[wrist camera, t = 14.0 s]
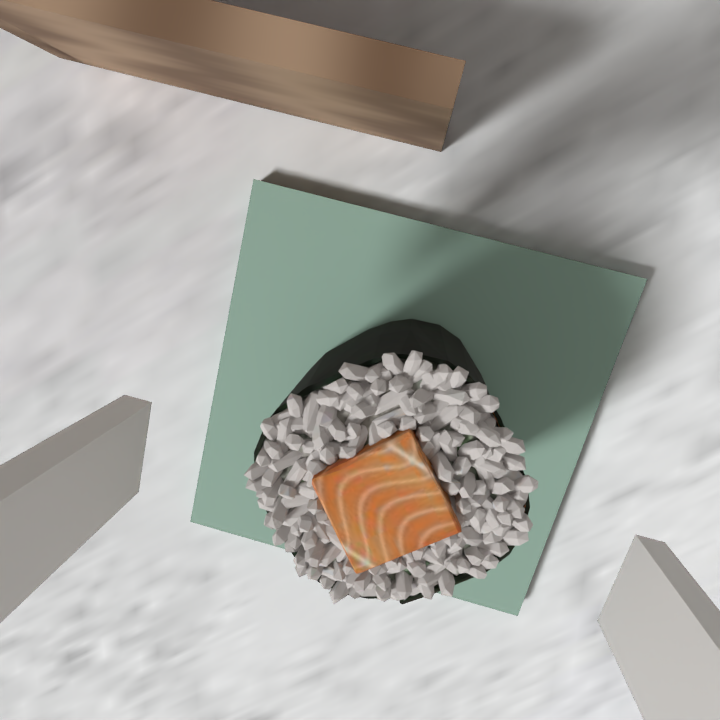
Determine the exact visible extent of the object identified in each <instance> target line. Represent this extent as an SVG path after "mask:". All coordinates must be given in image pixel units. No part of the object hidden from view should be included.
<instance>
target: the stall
mask: <svg viewBox="0 0 720 720" xmlns="http://www.w3.org/2000/svg"><path fill="white" fill-rule="evenodd" d="M0 28H2V29H4V30H6V31H8V32H10V33H12V34H14V35H16V36H18V37H20V38H22V39H24V40H26V41H28V42H30V43H32V44H34V45H35V46H37V47H39V48H41V49H43V50H45V51H47V52H49V53H51V54H53V55H55V56H57V57H59V58H63V59H67V60H71V61H75V62H79V63H83V64H87V65H91V66H95V67H100V68H104V69H108V70H112V71H116V72H120V73H124V74H128V75H132V76H136V77H140V78H144V79H148V80H152V81H156V82H160V83H164V84H168V85H172V86H176V87H181V88H185V89H189V90H193V91H197V92H201V93H205V94H209V95H213V96H217V97H221V98H225V99H229V100H233V101H237V102H241V103H245V104H249V105H253V106H257V107H261V108H266V109H270V110H274V111H278V112H282V113H286V114H290V115H294V116H298V117H302V118H306V119H310V120H314V121H318V122H322V123H326V124H330V125H334V126H338V127H342V128H347V129H351V130H355V131H359V132H363V133H367V134H371V135H375V136H379V137H383V138H387V139H391V140H395V141H399V142H403V143H407V144H411V145H415V146H419V147H423V148H428V149H432V150H436V151H440V152H441V151H442V147H443V143H444V140H445V136H446V132H447V129H448V125H449V121H450V118H451V114H452V110H453V107H454V103H455V99H456V95H457V92H458V88H459V84H460V80H461V77H462V73H463V69H464V66H465V62H466V61H464V60H460V59H456V58H452V57H447V56H443V55H439V54H435V53H431V52H426V51H422V50H418V49H414V48H410V47H405V46H401V45H397V44H393V43H389V42H384V41H380V40H376V39H372V38H368V37H363V36H359V35H355V34H351V33H347V32H342V31H338V30H334V29H330V28H326V27H321V26H317V25H313V24H309V23H305V22H300V21H296V20H292V19H288V18H284V17H279V16H275V15H271V14H267V13H263V12H258V11H254V10H250V9H246V8H242V7H237V6H233V5H229V4H225V3H221V2H216V1H212V0H0Z"/></svg>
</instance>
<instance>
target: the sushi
mask: <svg viewBox="0 0 720 720" xmlns="http://www.w3.org/2000/svg"><path fill="white" fill-rule="evenodd" d="M499 404H500V403H499V400H498V397H495V396H492V395H490V394H489V392H488V389H487V385H486V384H485V382H484V380H483V377H482V375H481V373H480V371H479V370H478V368H477V366H476V365H475V363H474V362H473V360H472V358H471V357H470V355H469V353H468V352H467V350H466V348H465V347H464V345H463V343H462V342H461V340H460V339H459V338H458V337H456V336H455V335H453V334H452V333H451V332H449V331H448V330H446V329H445V328H444V327H442V326H441V325H439V324H434V323H430V322H425V321H420V320H416V319H405V320H397V321H391V322H388V323H385V324H382V325H380V326H377V327H374V328H371V329H369V330H367V331H365V332H363V333H361V334H359V335H357V336H356V337H354V338H352V339H350V340H348V341H346V342H345V343H343V344H341V345H339V346H337V347H335V348H334V349H332V350H330V351H328V352H326V353H325V354H324V355H323V356H322V357H321V358H320V359H319V360H318V361H317V362H316V363H315V364H314V365H313V366H312V367H311V369H310V370H309V371H308V372H307V373H306V374H305V376H304V377H303V378H302V379H301V380H300V382H299V383H298V384H297V385H296V386H295V388H294V389H293V390H292V391H291V392H290V394H289V395H288V396H287V397H286V398H285V400H284V401H283V402H282V403H281V404H280V406H279V407H278V408H277V409H276V410H275V412H274V413H273V414H272V415H271V417H269V418H266V419H264V420H263V422H262V423H261V425H260V427H261V429H262V434H261V436H260V439H259V441H258V443H257V446H256V448H255V451H254V463H253V464H252V465H251V466H250V467H249V469H248V470H247V471H246V472H245V474H244V476H246V477H247V478H249V479H248V481H247V484H246V487H245V488H246V489H249V490H253V491H256V492H257V493H256V497H258V498H259V499H258V500H257V502H258V505H259V508H261V509H264V510H266V512H267V514H266V516H265V520H264V526H266V527H268V528H270V529H273V528H274V529H275V530H276V532H275V533H274V535H273V536H272V539H273V544H274V545H275V546H278V545H281V544H283V543H285V544H284V545H285V550H286V552H292V554H293V555H294V557H295V558H294V560H293V561H294V563H295V564H296V567H295V569H296V571H297V573H298V576H299V577H301V576H303V575H305V574H307V576H308V579H312V580H317V581H318V582H319V583H321V585H322V587H323V588H324V589H330V588H331V591H330V592H329V594H330V596H331V599H332V601H333V604H335V603H336V602H338V601H340V600H341V599H343V598H344V597H346V596H347V595H350V596H351V597H352V598H354V599H355V598H359V597H362V598H368V599H371V598H377V599H379V600H381V601H384V602H385V601H387V600H388V599H390V598H391V599H394V600H397V601H399V600H400V603H401V604H405V603H408V602H410V601H413V600H416V599H419V598H422V597H424V598H427V599H432V597H433V595H434V593H437V592H439V591H441V595H445V596H451V597H452V596H453V591H454V586H455V585H456V584H459V583H461V582H464V581H466V580H469V579H471V578H474V577H475V578H477V579H485V578H486V576H487V573H486V572H487V571H489V570H490V569H494V568H496V567H497V564H498V563H499V562H500V561H502V560H503V559H504V558H506V557H507V556H508V555H510V553H511V552H512V550H513V548H514V547H515V546H520V545H522V544H524V543H525V542H527V541H529V538H528V532H529V531H530V530H531V528H532V527H533V523H532V522H531V520H530V518H529V517H528V513H529V509H530V502H529V493H530V492H533V491H534V490H536V489H537V488H538V481H537V480H536V479H534V478H532V477H531V476H529V475H525V474H524V471H523V470H526V464H525V457H523V456H520V455H519V454H522V453H524V452H525V451H526V450H525V446H524V442H523V440H521V439H517V438H513V437H512V435H513V432H512V431H511V430H509V429H508V428H506V427H505V426H504V424H503V422H502V419H501V417H500V415H499V414H498V412H497V411H496V410H497V409H498V408H499Z"/></svg>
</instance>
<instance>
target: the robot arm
mask: <svg viewBox="0 0 720 720" xmlns="http://www.w3.org/2000/svg"><path fill="white" fill-rule="evenodd" d="M151 404H152V402H149V401H145V400H142V399H138V398H134V397H131V396H127V395H123V396H122V397H120V398H118V399H116V400H115V401H113V402H111V403H109V404H108V405H106V406H104V407H102V408H100V409H99V410H97V411H95V412H93V413H92V414H90V415H88V416H86V417H85V418H83V419H81V420H79V421H78V422H76V423H74V424H72V425H71V426H69V427H67V428H65V429H63V430H62V431H60V432H58V433H56V434H55V435H53V436H51V437H49V438H48V439H46V440H44V441H42V442H41V443H39V444H37V445H35V446H34V447H32V448H30V449H28V450H26V451H25V452H23V453H21V454H19V455H18V456H16V457H14V458H12V459H11V460H9V461H7V462H5V463H4V464H2V465H0V623H1V622H2V621H3V620H4V619H5V618H6V617H7V616H8V615H9V614H10V613H11V612H12V611H13V610H15V609H16V608H17V607H18V606H19V605H20V604H21V603H22V602H23V601H24V600H25V599H26V598H27V597H28V596H29V595H30V594H31V593H32V592H33V591H35V590H36V589H37V588H38V587H39V586H40V585H41V584H42V583H43V582H44V581H45V580H46V579H47V578H48V577H49V576H50V575H51V574H52V573H54V572H55V571H56V570H57V569H58V568H59V567H60V566H61V565H62V564H63V563H64V562H65V561H66V560H67V559H68V558H69V557H70V556H71V555H73V554H74V553H75V552H76V551H77V550H78V549H79V548H80V547H81V546H82V545H83V544H84V543H85V542H86V541H87V540H88V539H89V538H90V537H92V536H93V535H94V534H95V533H96V532H97V531H98V530H99V529H100V528H101V527H102V526H103V525H104V524H105V523H106V522H107V521H108V520H109V519H111V518H112V517H113V516H114V515H115V514H116V513H117V512H118V511H119V510H120V509H121V508H122V507H123V506H124V505H125V504H126V503H127V502H128V501H130V500H131V499H132V498H133V497H134V496H135V495H136V494H137V493H138V492H139V486H140V479H141V472H142V465H143V458H144V452H145V445H146V438H147V431H148V424H149V417H150V411H151ZM597 621H598V623H599V625H600V627H601V629H602V632H603V634H604V636H605V638H606V640H607V642H608V644H609V647H610V649H611V651H612V653H613V655H614V657H615V659H616V662H617V664H618V666H619V668H620V670H621V672H622V674H623V676H624V679H625V681H626V683H627V685H628V687H629V689H630V691H631V694H632V696H633V698H634V700H635V702H636V704H637V706H638V709H639V711H640V713H641V715H642V717H643V719H644V720H720V611H719V609H718V608H717V607H716V606H715V604H714V603H713V602H712V601H711V599H710V598H709V597H708V596H707V594H706V593H705V592H704V591H703V589H702V588H701V587H700V586H699V584H698V583H697V582H696V581H695V579H694V578H693V577H692V576H691V574H690V573H689V572H688V571H687V569H686V568H685V567H684V566H683V564H682V563H681V562H680V561H679V559H678V558H677V557H676V556H675V554H674V553H673V552H672V551H671V549H670V548H669V547H668V546H667V544H666V543H665V542H661V541H658V540H654V539H650V538H647V537H643V536H639V535H635V537H634V539H633V541H632V544H631V546H630V548H629V550H628V553H627V555H626V557H625V559H624V562H623V564H622V566H621V568H620V571H619V573H618V575H617V577H616V580H615V582H614V584H613V586H612V589H611V591H610V593H609V595H608V598H607V600H606V602H605V604H604V607H603V609H602V611H601V614H600V616H599V618H598V620H597Z"/></svg>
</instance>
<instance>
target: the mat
mask: <svg viewBox="0 0 720 720" xmlns="http://www.w3.org/2000/svg"><path fill="white" fill-rule="evenodd" d="M646 281H647V279H645V278H641V277H637V276H633V275H629V274H626V273H622V272H618V271H614V270H610V269H606V268H602V267H598V266H594V265H590V264H586V263H582V262H578V261H574V260H570V259H566V258H562V257H559V256H555V255H551V254H547V253H543V252H539V251H535V250H531V249H527V248H523V247H519V246H515V245H511V244H507V243H503V242H499V241H496V240H492V239H488V238H484V237H480V236H476V235H472V234H468V233H464V232H460V231H456V230H452V229H448V228H444V227H440V226H436V225H433V224H429V223H425V222H421V221H417V220H413V219H409V218H405V217H401V216H397V215H393V214H389V213H385V212H381V211H377V210H373V209H369V208H366V207H362V206H358V205H354V204H350V203H346V202H342V201H338V200H334V199H330V198H326V197H322V196H318V195H314V194H310V193H306V192H303V191H299V190H295V189H291V188H287V187H283V186H279V185H275V184H271V183H267V182H263V181H259V180H255V179H254V180H253V185H252V191H251V196H250V202H249V207H248V213H247V218H246V223H245V229H244V234H243V240H242V245H241V250H240V256H239V261H238V267H237V272H236V277H235V283H234V288H233V294H232V299H231V305H230V310H229V315H228V321H227V326H226V332H225V337H224V342H223V348H222V353H221V359H220V364H219V369H218V375H217V380H216V386H215V391H214V397H213V402H212V407H211V413H210V418H209V424H208V429H207V434H206V440H205V445H204V451H203V456H202V461H201V467H200V472H199V478H198V483H197V489H196V494H195V499H194V505H193V510H192V516H191V521H190V522H193V523H197V524H200V525H204V526H207V527H211V528H214V529H218V530H221V531H224V532H228V533H231V534H235V535H238V536H242V537H245V538H249V539H252V540H256V541H259V542H263V543H266V544H270V545H273V546H275V545H274V544H273V539H272V536H273V535H274V533H275V532H276V530H275V529H274V528H273V529H270V528H268V527H266V526H264V520H265V516H266V514H267V512H266V510H264V509H261V508H259V505H258V502H257V500H258V499H259V498H258V497H256V493H257V492H256V491H253V490H249V489H246V488H245V487H246V484H247V481H248V479H249V478H247V477H246V476H244V474H245V472H246V471H247V470H248V469H249V467H250V466H251V465H252V464H253V463H254V451H255V448H256V446H257V443H258V441H259V439H260V436H261V434H262V429H261V427H260V425H261V423H262V422H263V420H264V419H266V418H269V417H271V415H272V414H273V413H274V412H275V410H276V409H277V408H278V407H279V406H280V404H281V403H282V402H283V401H284V400H285V398H286V397H287V396H288V395H289V394H290V392H291V391H292V390H293V389H294V388H295V386H296V385H297V384H298V383H299V382H300V380H301V379H302V378H303V377H304V376H305V374H306V373H307V372H308V371H309V370H310V369H311V367H312V366H313V365H314V364H315V363H316V362H317V361H318V360H319V359H320V358H321V357H322V356H323V355H324V354H325V353H326V352H328V351H330V350H332V349H334V348H335V347H337V346H339V345H341V344H343V343H345V342H346V341H348V340H350V339H352V338H354V337H356V336H357V335H359V334H361V333H363V332H365V331H367V330H369V329H371V328H374V327H377V326H380V325H382V324H385V323H388V322H391V321H397V320H405V319H416V320H420V321H425V322H430V323H434V324H439V325H441V326H442V327H444V328H445V329H446V330H448V331H449V332H451V333H452V334H453V335H455V336H456V337H458V338H459V339H460V340H461V342H462V343H463V345H464V347H465V348H466V350H467V352H468V353H469V355H470V357H471V358H472V360H473V362H474V363H475V365H476V366H477V368H478V370H479V371H480V373H481V375H482V377H483V380H484V382H485V384H486V385H487V389H488V392H489V394H490V395H492V396H495V397H498V400H499V403H500V404H499V408H498V409H497V410H496V411H497V412H498V414H499V415H500V417H501V419H502V422H503V424H504V426H505V427H506V428H508V429H509V430H511V431H512V432H513V435H512V437H513V438H517V439H521V440H523V442H524V446H525V450H526V451H525V452H524V453H522V454H519V455H520V456H523V457H525V464H526V470H523V471H524V474H525V475H529V476H531V477H532V478H534V479H536V480H537V481H538V488H537V489H536V490H534V491H533V492H530V493H529V502H530V509H529V513H528V517H529V518H530V520H531V522H532V523H533V527H532V528H531V530H530V531H529V532H528V538H529V541H527V542H525V543H524V544H522V545H520V546H515V547H514V548H513V550H512V552H511V553H510V555H508V556H507V557H506V558H504V559H503V560H502V561H500V562H499V563H498V564H497V567H496V568H494V569H490V570H489V571H487V572H486V573H487V576H486V578H485V579H477V578H475V577H474V578H471V579H469V580H466V581H464V582H461V583H459V584H456V585H455V586H454V591H453V596H452V597H454V598H457V599H461V600H464V601H468V602H471V603H475V604H478V605H482V606H485V607H489V608H492V609H495V610H499V611H502V612H506V613H509V614H513V615H516V616H518V613H519V611H520V608H521V606H522V603H523V600H524V598H525V595H526V593H527V590H528V588H529V585H530V582H531V580H532V577H533V575H534V572H535V569H536V567H537V564H538V562H539V559H540V556H541V554H542V551H543V549H544V546H545V543H546V541H547V538H548V536H549V533H550V530H551V528H552V525H553V523H554V520H555V517H556V515H557V512H558V510H559V507H560V504H561V502H562V499H563V497H564V494H565V491H566V489H567V486H568V484H569V481H570V478H571V476H572V473H573V471H574V468H575V466H576V463H577V460H578V458H579V455H580V453H581V450H582V447H583V445H584V442H585V440H586V437H587V434H588V432H589V429H590V427H591V424H592V421H593V419H594V416H595V414H596V411H597V408H598V406H599V403H600V401H601V398H602V395H603V393H604V390H605V388H606V385H607V382H608V380H609V377H610V375H611V372H612V369H613V367H614V364H615V362H616V359H617V356H618V354H619V351H620V349H621V346H622V344H623V341H624V338H625V336H626V333H627V331H628V328H629V325H630V323H631V320H632V318H633V315H634V312H635V310H636V307H637V305H638V302H639V299H640V297H641V294H642V292H643V289H644V286H645V284H646ZM284 544H285V543H283V544H281V545H278V546H277V547H280V548H284V549H285V545H284ZM437 593H440V594H441V591H439V592H437ZM450 597H451V596H450Z"/></svg>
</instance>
